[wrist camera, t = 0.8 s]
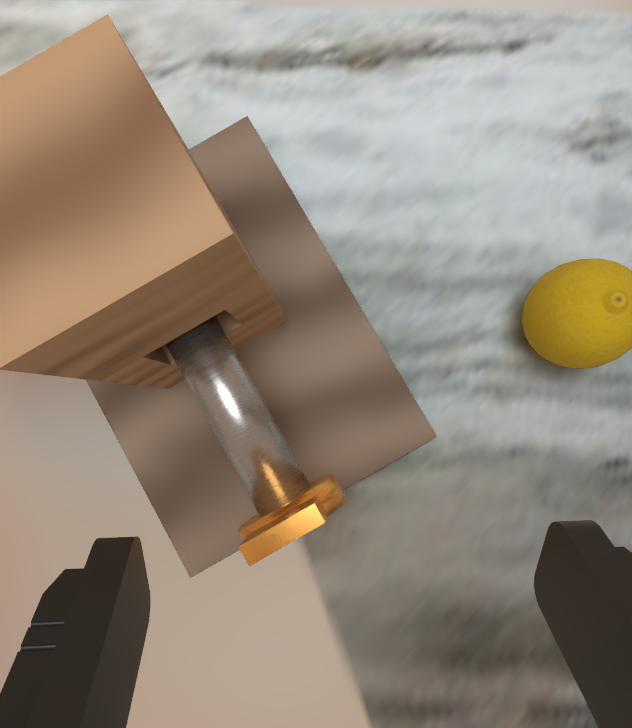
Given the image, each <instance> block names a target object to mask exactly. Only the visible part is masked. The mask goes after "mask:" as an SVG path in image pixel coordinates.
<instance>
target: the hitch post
mask: <svg viewBox="0 0 632 728" xmlns="http://www.w3.org/2000/svg"><path fill="white" fill-rule="evenodd" d="M215 315H216V317H217V319H218V320H219V322H220V324H221V326H222V328H223V329H224V331H225V333H226V335H227V337H228V338H229V340H230V342H231V344H232V345H233V347H234V349H235V351H236V353H237V354H238V356H239V358H240V360H241V362H242V363H243V365H244V367H245V369H246V370H247V372H248V374H249V376H250V378H251V379H252V381H253V383H254V385H255V386H256V388H257V390H258V392H259V394H260V395H261V397H262V399H263V401H264V403H265V404H266V406H267V408H268V410H269V411H270V413H271V415H272V417H273V419H274V420H275V422H276V424H277V426H278V428H279V429H280V431H281V433H282V435H283V436H284V438H285V440H286V442H287V444H288V445H289V447H290V449H291V451H292V452H293V454H294V456H295V458H296V460H297V461H298V463H299V465H300V467H301V469H302V470H303V472H304V474H305V476H306V477H307V479H308V481H309V483H310V482H312V481H314V480H316V479H318V478H320V477H322V476H325V475H327V474H330V473H333V475H334V477H335V478H336V480H337V482H338V484H339V486H340V487H341V489H342V491H343V490H344V489H346V488H348V487H350V486H351V485H353V484H355V483H357V482H358V481H360V480H362V479H364V478H365V477H367V476H369V475H370V474H372V473H374V472H376V471H377V470H379V469H381V468H383V467H384V466H386V465H388V464H390V463H391V462H393V461H395V460H397V459H398V458H400V457H402V456H404V455H405V454H407V453H409V452H411V451H412V450H414V449H416V448H417V447H419V446H421V445H423V444H424V443H426V442H428V441H430V440H431V439H433V438H435V437H436V435H435V433H434V431H433V430H432V428H431V426H430V425H429V423H428V421H427V420H426V418H425V416H424V415H423V413H422V411H421V409H420V408H419V406H418V404H417V403H416V401H415V399H414V398H413V396H412V394H411V393H410V391H409V389H408V387H407V386H406V384H405V382H404V381H403V379H402V377H401V376H400V374H399V372H398V370H397V369H396V367H395V365H394V364H393V362H392V360H391V359H390V357H389V355H388V354H387V352H386V350H385V348H384V347H383V345H382V343H381V342H380V340H379V338H378V337H377V335H376V333H375V332H374V330H373V328H372V326H371V325H370V323H369V321H368V320H367V318H366V316H365V315H364V313H363V311H362V310H361V308H360V306H359V304H358V303H357V301H356V299H355V298H354V296H353V294H352V293H351V291H350V289H349V287H348V286H347V284H346V282H345V281H344V279H343V277H342V276H341V274H340V272H339V271H338V269H337V267H336V265H335V264H334V262H333V260H332V259H331V257H330V255H329V254H328V252H327V250H326V249H325V247H324V245H323V243H322V242H321V240H320V238H319V237H318V235H317V233H316V232H315V230H314V228H313V227H312V225H311V223H310V221H309V220H308V218H307V216H306V215H305V213H304V211H303V210H302V208H301V206H300V204H299V203H298V201H297V199H296V198H295V196H294V194H293V193H292V191H291V189H290V188H289V186H288V184H287V182H286V181H285V179H284V177H283V176H282V174H281V172H280V171H279V169H278V167H277V166H276V164H275V162H274V160H273V159H272V157H271V155H270V154H269V152H268V150H267V149H266V147H265V145H264V144H263V142H262V140H261V138H260V137H259V135H258V133H257V132H256V130H255V128H254V127H253V125H252V123H251V122H250V120H249V118H248V116H246V117H245V118H243V119H241V120H240V121H238V122H236V123H234V124H233V125H231V126H229V127H227V128H226V129H224V130H222V131H220V132H219V133H217V134H215V135H214V136H212V137H210V138H208V139H207V140H205V141H203V142H201V143H200V144H198V145H196V146H194V147H193V148H191V149H189V150H188V148H187V146H186V145H185V143H184V141H183V140H182V138H181V136H180V135H179V133H178V131H177V130H176V128H175V126H174V125H173V123H172V121H171V120H170V118H169V116H168V115H167V113H166V111H165V110H164V108H163V106H162V105H161V103H160V101H159V100H158V98H157V96H156V95H155V93H154V91H153V90H152V88H151V86H150V84H149V83H148V81H147V79H146V78H145V76H144V74H143V73H142V71H141V69H140V68H139V66H138V64H137V63H136V61H135V59H134V58H133V56H132V54H131V53H130V51H129V49H128V48H127V46H126V44H125V43H124V41H123V39H122V38H121V36H120V34H119V33H118V31H117V29H116V28H115V26H114V24H113V23H112V21H111V19H110V18H109V16H108V15H106V16H104V17H103V18H101V19H99V20H97V21H96V22H94V23H92V24H90V25H89V26H87V27H85V28H84V29H82V30H80V31H78V32H77V33H75V34H73V35H71V36H70V37H68V38H66V39H65V40H63V41H61V42H59V43H58V44H56V45H54V46H52V47H51V48H49V49H47V50H45V51H44V52H42V53H40V54H39V55H37V56H35V57H33V58H32V59H30V60H28V61H26V62H25V63H23V64H21V65H20V66H18V67H16V68H14V69H13V70H11V71H9V72H7V73H6V74H4V75H2V76H0V370H8V371H18V372H26V373H35V374H43V375H52V376H61V377H70V378H79V379H86V381H87V383H88V385H89V387H90V388H91V390H92V392H93V394H94V396H95V398H96V400H97V402H98V403H99V406H100V407H101V409H102V411H103V413H104V415H105V417H106V419H107V421H108V423H109V424H110V426H111V428H112V430H113V432H114V434H115V436H116V437H117V440H118V442H119V443H120V445H121V447H122V449H123V451H124V453H125V455H126V457H127V459H128V460H129V462H130V464H131V466H132V468H133V470H134V472H135V473H136V475H137V477H138V479H139V481H140V483H141V485H142V487H143V489H144V491H145V493H146V494H147V496H148V498H149V500H150V502H151V504H152V506H153V508H154V510H155V511H156V513H157V515H158V517H159V519H160V521H161V523H162V525H163V527H164V529H165V530H166V532H167V534H168V536H169V538H170V540H171V542H172V544H173V546H174V547H175V549H176V551H177V553H178V555H179V557H180V559H181V561H182V563H183V565H184V566H185V568H186V570H187V572H188V574H189V576H190V577H193V576H195V575H196V574H198V573H200V572H202V571H203V570H205V569H207V568H208V567H210V566H212V565H214V564H216V563H217V562H219V561H221V560H222V559H224V558H226V557H228V556H229V555H231V554H233V553H235V552H236V551H238V550H240V548H239V546H240V544H241V543H242V542H243V539H242V538H241V536H240V534H239V532H238V528H239V527H240V526H241V525H243V524H244V523H245V522H246V521H248V520H249V519H250V518H252V517H253V516H255V515H256V514H258V512H257V510H256V509H255V507H254V505H253V503H252V501H251V499H250V498H249V496H248V494H247V492H246V490H245V489H244V487H243V485H242V483H241V481H240V479H239V478H238V476H237V474H236V472H235V470H234V468H233V467H232V465H231V463H230V461H229V459H228V457H227V456H226V454H225V452H224V450H223V448H222V447H221V445H220V443H219V441H218V439H217V437H216V436H215V434H214V432H213V430H212V428H211V426H210V425H209V423H208V421H207V419H206V417H205V415H204V414H203V412H202V410H201V408H200V406H199V405H198V403H197V401H196V399H195V397H194V395H193V394H192V392H191V390H190V388H189V386H188V384H187V383H186V381H185V379H184V377H183V375H182V373H181V372H180V370H179V368H178V366H177V364H176V363H175V361H174V359H173V357H172V355H171V353H170V352H169V350H168V348H167V346H166V343H168V342H170V341H172V340H173V339H175V338H177V337H178V336H180V335H182V334H184V333H185V332H187V331H189V330H191V329H192V328H194V327H196V326H198V325H199V324H201V323H203V322H205V321H206V320H208V319H210V318H211V317H213V316H215Z"/></svg>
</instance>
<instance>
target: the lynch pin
mask: <svg viewBox="0 0 632 728" xmlns="http://www.w3.org/2000/svg"><path fill="white" fill-rule="evenodd" d="M166 346H167V348H168V350H169V352H170V353H171V355H172V357H173V359H174V361H175V363H176V364H177V366H178V368H179V370H180V372H181V373H182V375H183V377H184V379H185V381H186V383H187V384H188V386H189V388H190V390H191V392H192V394H193V395H194V397H195V399H196V401H197V403H198V405H199V406H200V408H201V410H202V412H203V414H204V415H205V417H206V419H207V421H208V423H209V425H210V426H211V428H212V430H213V432H214V434H215V436H216V437H217V439H218V441H219V443H220V445H221V447H222V448H223V450H224V452H225V454H226V456H227V457H228V459H229V461H230V463H231V465H232V467H233V468H234V470H235V472H236V474H237V476H238V478H239V479H240V481H241V483H242V485H243V487H244V489H245V490H246V492H247V494H248V496H249V498H250V499H251V501H252V503H253V505H254V507H255V509H256V510H257V512H258V514H256V515H255V516H253V517H252V518H250V519H249V520H248V521H246V522H245V523H244V524H243V525H241V526H240V527H239V528H238V532H239V534H240V536H241V538H242V539H243V542H242V543H241V544H240V546H239V548H240V550H241V552H242V554H243V556H244V557H245V560H246V561H247V563H248V565H249V566H251V565H252V564H254V563H256V562H258V561H259V560H261V559H263V558H264V557H266V556H268V555H270V554H272V553H273V552H275V551H277V550H278V549H280V548H282V547H284V546H285V545H287V544H289V543H291V542H292V541H294V540H296V539H298V538H299V537H301V536H303V535H305V534H306V533H308V532H310V531H312V530H313V529H315V528H317V527H319V526H320V525H322V524H324V523H325V522H326V517H328V516H329V515H330V514H332V513H333V512H334V511H335V510H337V509H338V508H339V507H340V506H341V505H342V504H343V503H344V502H345V501H346V496H345V494H344V493H343V491H342V489H341V487H340V486H339V484H338V482H337V480H336V478H335V477H334V475H333V473H330V474H327V475H325V476H322V477H320V478H318V479H316V480H314V481H312V482H310V483H309V481H308V479H307V477H306V476H305V474H304V472H303V470H302V469H301V467H300V465H299V463H298V461H297V460H296V458H295V456H294V454H293V452H292V451H291V449H290V447H289V445H288V444H287V442H286V440H285V438H284V436H283V435H282V433H281V431H280V429H279V428H278V426H277V424H276V422H275V420H274V419H273V417H272V415H271V413H270V411H269V410H268V408H267V406H266V404H265V403H264V401H263V399H262V397H261V395H260V394H259V392H258V390H257V388H256V386H255V385H254V383H253V381H252V379H251V378H250V376H249V374H248V372H247V370H246V369H245V367H244V365H243V363H242V362H241V360H240V358H239V356H238V354H237V353H236V351H235V349H234V347H233V345H232V344H231V342H230V340H229V338H228V337H227V335H226V333H225V331H224V329H223V328H222V326H221V324H220V322H219V320H218V319H217V317H216V315H215V316H213V317H211V318H210V319H208V320H206V321H205V322H203V323H201V324H199V325H198V326H196V327H194V328H192V329H191V330H189V331H187V332H185V333H184V334H182V335H180V336H178V337H177V338H175V339H173V340H172V341H170V342H168V343H166Z"/></svg>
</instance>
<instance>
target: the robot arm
mask: <svg viewBox="0 0 632 728" xmlns="http://www.w3.org/2000/svg"><path fill="white" fill-rule="evenodd" d="M534 588H535V594H536V599H537V602H538V605H539V607H540V609H541V611H542V613H543V615H544V617H545V619H546V622H547V624H548V626H549V628H550V630H551V632H552V634H553V636H554V638H555V640H556V642H557V644H558V646H559V648H560V650H561V652H562V654H563V656H564V658H565V660H566V662H567V664H568V666H569V668H570V670H571V672H572V674H573V676H574V678H575V680H576V682H577V684H578V686H579V688H580V690H581V692H582V694H583V696H584V698H585V700H586V702H587V705H588V707H589V709H590V711H591V713H592V715H593V717H594V719H595V721H596V723H597V725H598V727H599V728H632V553H631V552H630V551H629V550H627V549H626V548H625V547H614V546H613V544H612V543H611V541H610V540H609V539H608V537H607V536H606V534H605V533H604V532H603V530H602V529H601V527H600V526H599V525H598V524H597V523H596V522H594V521H591V520H585V521H560V522H552V523H551V524H550V526H549V528H548V531H547V534H546V538H545V541H544V545H543V548H542V551H541V555H540V558H539V561H538V565H537V568H536V572H535V576H534ZM149 614H150V590H149V584H148V579H147V573H146V568H145V562H144V556H143V551H142V546H141V541H140V539H139V537H118V538H98V539H96V540H95V542H94V544H93V546H92V549H91V551H90V554H89V557H88V560H87V562H86V565H85V567H84V569H65V570H64V571H63V572H62V573H61V574H60V575H59V577H58V578H57V579H56V580H55V581H54V582H53V583H52V584H51V586H49V588H48V589H47V590H46V591H45V592H44V593H43V595H42V597H41V599H40V602H39V604H38V607H37V609H36V611H35V614H34V616H33V618H32V621H31V627H30V628H28V630H27V632H26V635H25V637H24V639H23V642H22V644H21V650H20V652H18V653H17V656H16V658H15V660H14V663H13V665H12V667H11V670H10V672H9V675H8V677H7V679H6V682H5V684H4V686H3V688H2V691H1V693H0V728H126V725H127V720H128V715H129V711H130V707H131V702H132V697H133V693H134V688H135V683H136V679H137V674H138V670H139V665H140V660H141V656H142V651H143V647H144V642H145V637H146V633H147V628H148V623H149Z"/></svg>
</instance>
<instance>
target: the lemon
mask: <svg viewBox="0 0 632 728" xmlns="http://www.w3.org/2000/svg"><path fill="white" fill-rule="evenodd" d="M522 325H523V329H524V334H525V336H526V338H527V340H528V342H529V344H530V345H531V346H532V348H533V349H534V350H535V351H536V352H537V353H538V354H539V355H540V356H542V357H543V358H545V359H546V360H548V361H549V362H552V363H554V364H557V365H560V366H563V367H569V368H579V369H582V368H590V367H598V366H601V365H604V364H606V363H608V362H611V361H613V360H616V359H618V358H619V357H621V356H622V355H623V354H625V353H626V352H627V351H629V350H630V349H631V348H632V271H631V270H629V269H628V268H627V267H625V266H622V265H620V264H618V263H616V262H613V261H608V260H604V259H581V260H576V261H573V262H569V263H565V264H562V265H560V266H558V267H557V268H555V269H553V270H551V271H550V272H548V273H546V274H545V275H544V276H543V277H542V278H541V279H540V280H539V281H538V282H537V283H536V284H535V285H534V286H533V288H532V289H531V291H530V293H529V294H528V296H527V297H526V300H525V304H524V307H523V311H522Z"/></svg>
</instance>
